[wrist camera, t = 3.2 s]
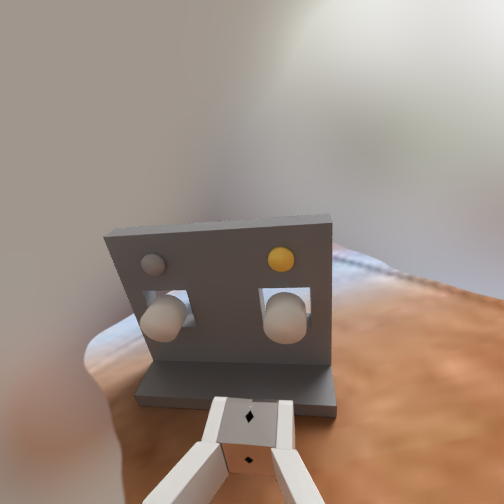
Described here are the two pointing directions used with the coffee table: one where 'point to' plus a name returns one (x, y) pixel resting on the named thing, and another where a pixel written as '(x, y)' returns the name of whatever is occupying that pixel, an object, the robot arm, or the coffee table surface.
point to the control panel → (232, 309)
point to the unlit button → (163, 318)
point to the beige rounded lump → (285, 318)
